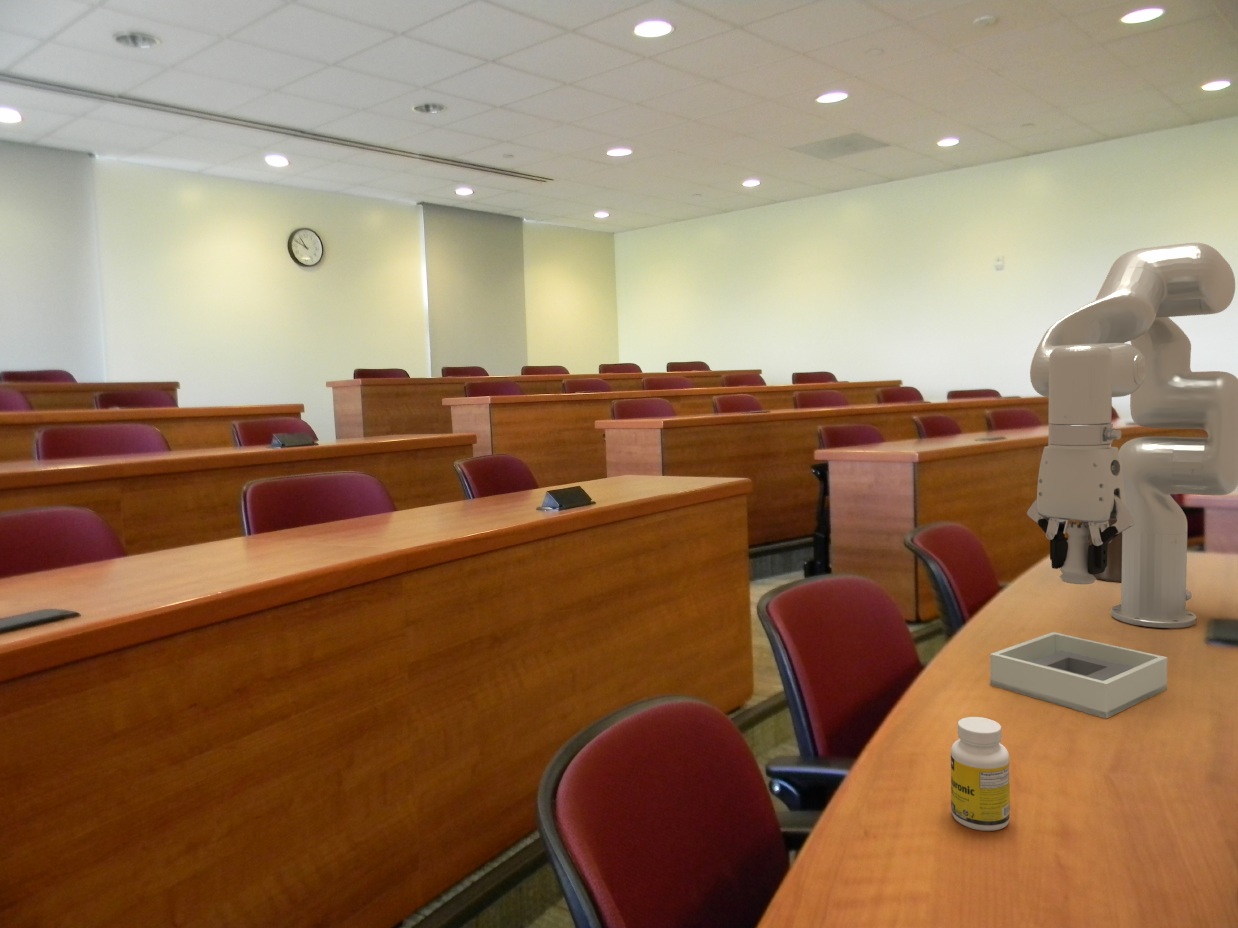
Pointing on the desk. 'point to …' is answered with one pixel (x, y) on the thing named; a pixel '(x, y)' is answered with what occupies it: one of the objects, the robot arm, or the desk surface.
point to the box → (1079, 673)
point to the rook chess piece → (1077, 555)
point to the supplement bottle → (980, 775)
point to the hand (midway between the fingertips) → (1077, 568)
